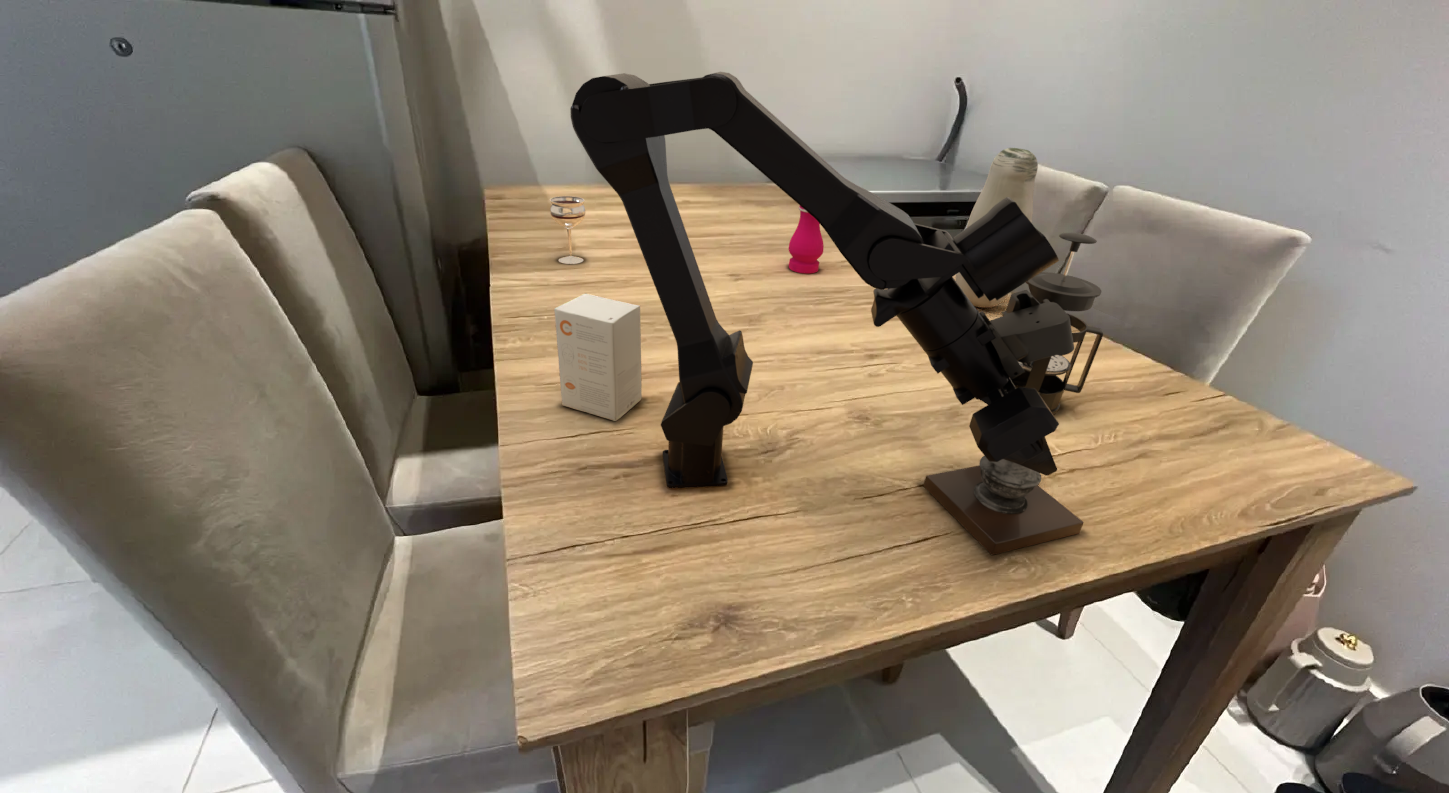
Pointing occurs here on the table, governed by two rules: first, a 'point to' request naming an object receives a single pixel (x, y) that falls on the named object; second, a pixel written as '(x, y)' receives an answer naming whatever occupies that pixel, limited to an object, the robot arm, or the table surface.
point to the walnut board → (996, 528)
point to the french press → (1071, 298)
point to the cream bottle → (1005, 179)
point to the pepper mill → (806, 244)
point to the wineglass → (568, 219)
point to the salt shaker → (1005, 485)
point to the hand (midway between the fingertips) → (1036, 444)
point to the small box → (599, 355)
